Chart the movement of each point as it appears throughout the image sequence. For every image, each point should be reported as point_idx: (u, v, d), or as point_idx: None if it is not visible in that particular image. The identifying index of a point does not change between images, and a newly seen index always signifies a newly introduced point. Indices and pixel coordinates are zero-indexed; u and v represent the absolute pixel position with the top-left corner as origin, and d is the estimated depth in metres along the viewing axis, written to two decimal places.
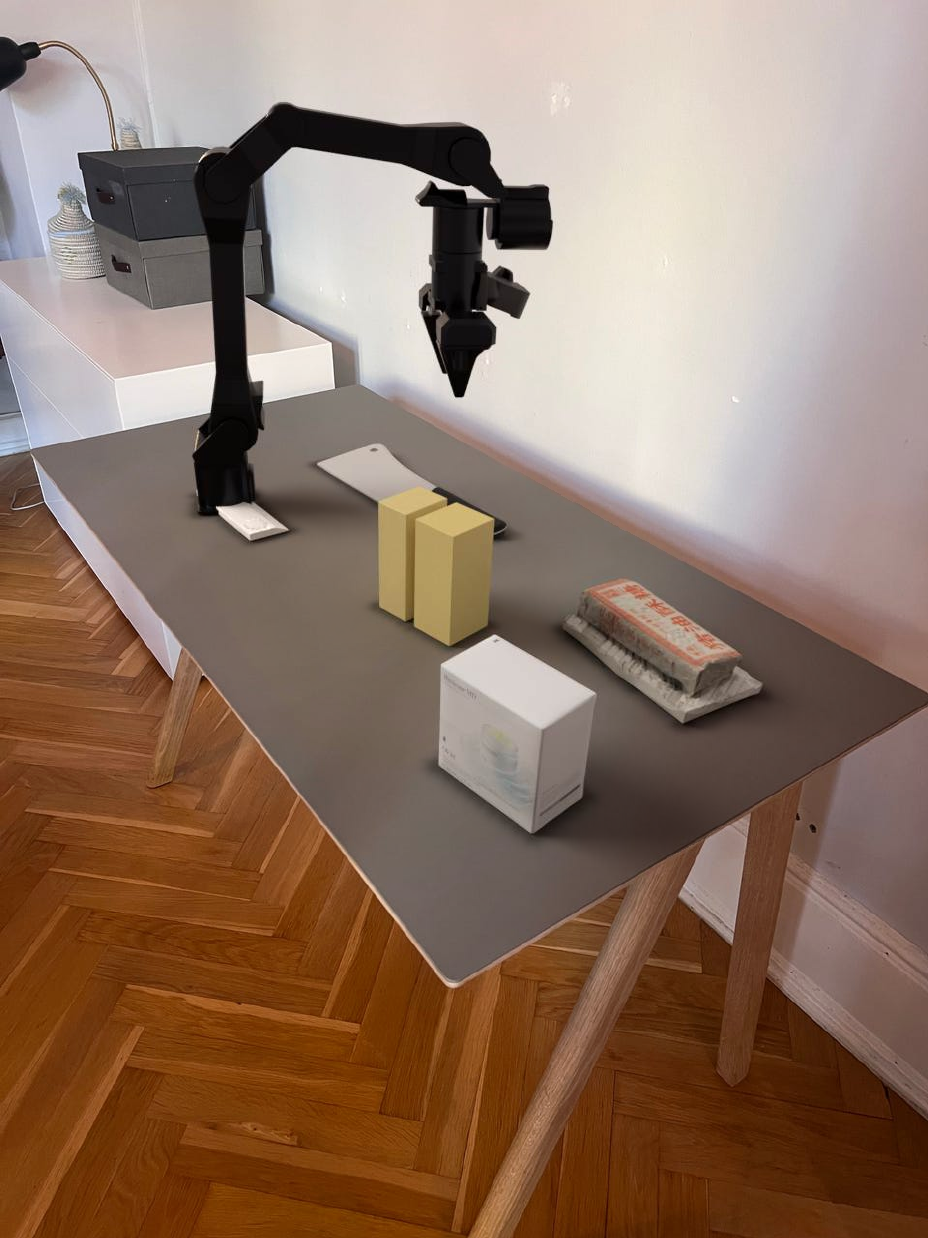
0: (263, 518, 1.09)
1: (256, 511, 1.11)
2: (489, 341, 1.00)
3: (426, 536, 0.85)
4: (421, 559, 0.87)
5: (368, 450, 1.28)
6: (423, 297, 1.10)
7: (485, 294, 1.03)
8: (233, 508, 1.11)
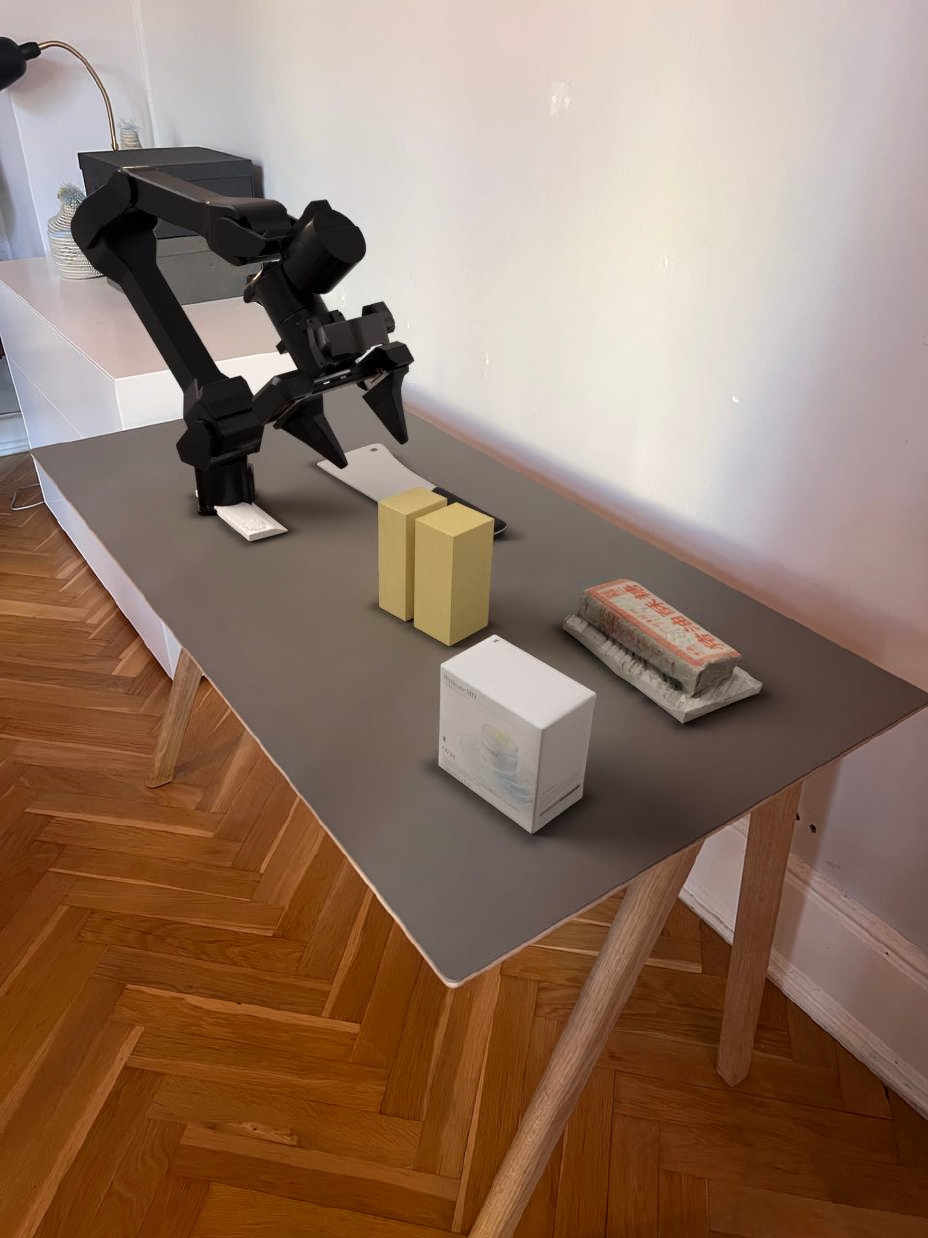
0: (262, 519, 1.09)
1: (255, 512, 1.11)
2: (281, 398, 0.85)
3: (426, 536, 0.85)
4: (421, 559, 0.87)
5: (368, 450, 1.28)
6: None
7: (316, 347, 0.89)
8: (232, 509, 1.11)
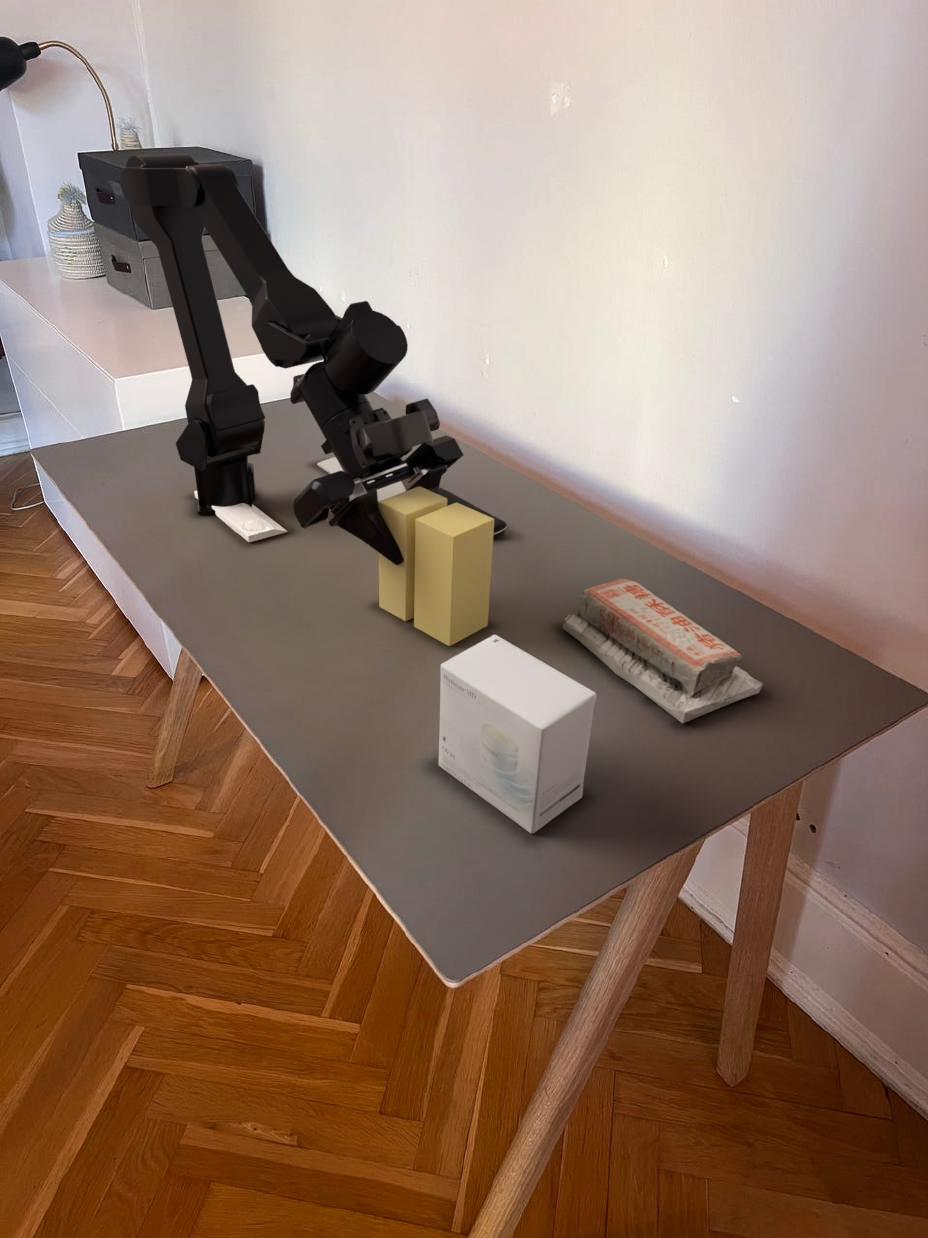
0: (261, 520, 1.09)
1: (254, 512, 1.10)
2: (320, 502, 0.83)
3: (426, 536, 0.85)
4: (421, 559, 0.87)
5: None
6: None
7: (358, 448, 0.87)
8: (231, 510, 1.10)
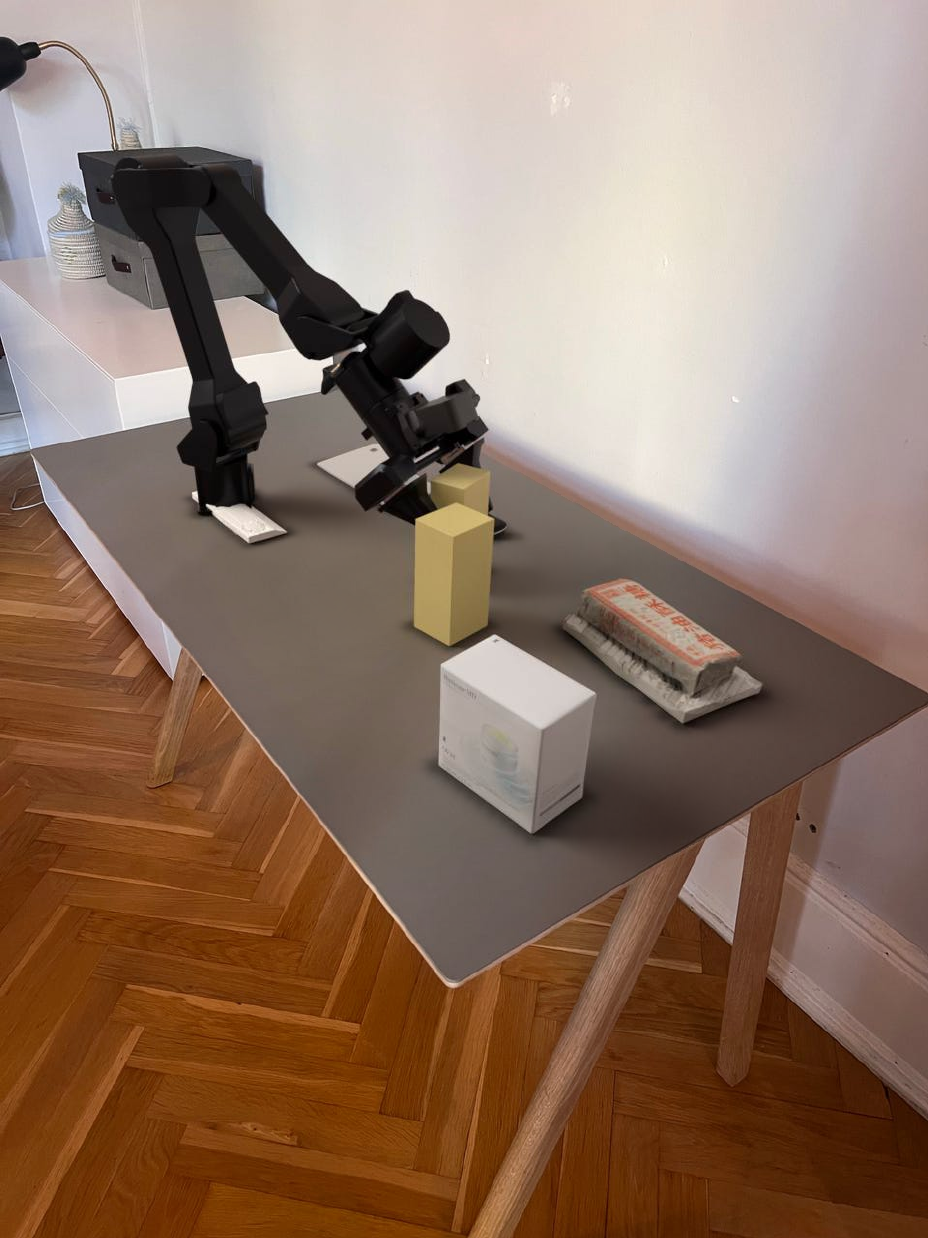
0: (261, 520, 1.08)
1: (253, 513, 1.10)
2: (391, 484, 0.87)
3: (426, 536, 0.85)
4: (421, 559, 0.87)
5: (368, 450, 1.28)
6: None
7: (410, 431, 0.92)
8: (230, 511, 1.10)
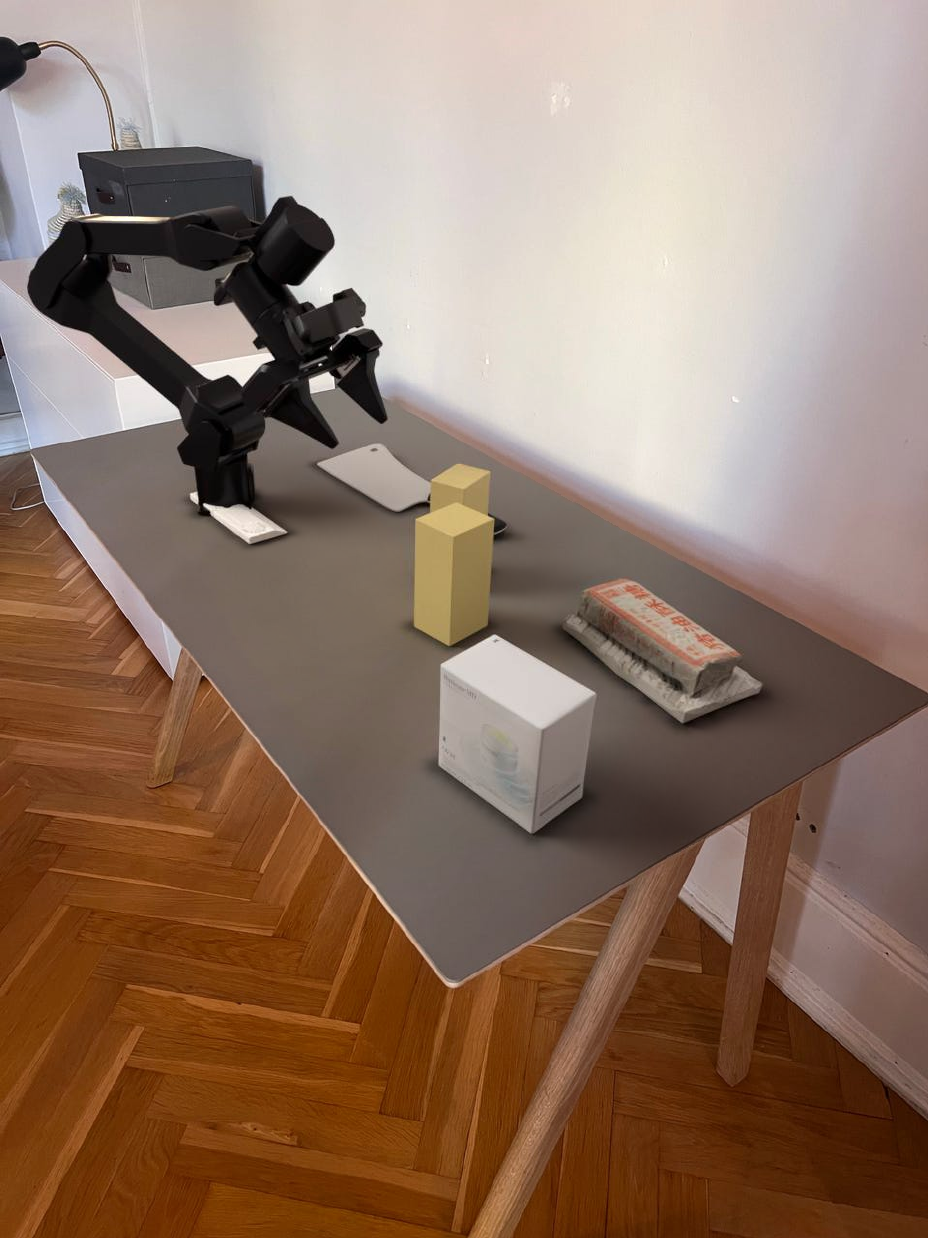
0: (261, 521, 1.08)
1: (253, 514, 1.10)
2: (272, 384, 0.90)
3: (426, 536, 0.85)
4: (421, 559, 0.87)
5: (368, 450, 1.28)
6: None
7: (295, 336, 0.94)
8: (229, 512, 1.10)
